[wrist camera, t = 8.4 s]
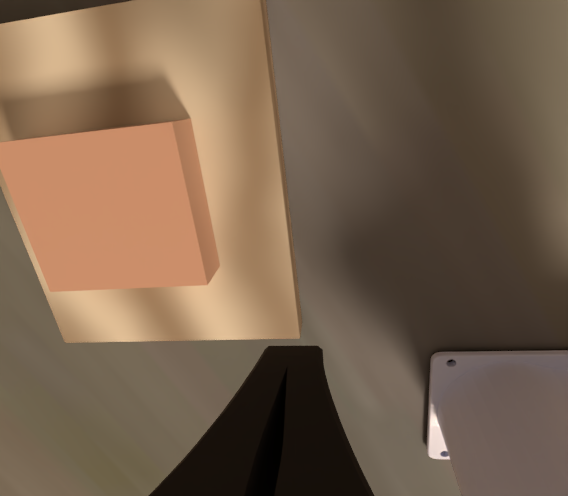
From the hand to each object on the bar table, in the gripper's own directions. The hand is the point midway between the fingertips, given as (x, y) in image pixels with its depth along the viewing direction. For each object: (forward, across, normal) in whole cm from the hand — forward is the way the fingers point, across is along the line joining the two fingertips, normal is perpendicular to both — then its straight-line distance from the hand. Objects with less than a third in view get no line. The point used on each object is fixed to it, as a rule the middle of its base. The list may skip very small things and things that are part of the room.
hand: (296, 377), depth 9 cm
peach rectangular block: (+8, +5, -2) cm, 10 cm away
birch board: (+10, +8, -2) cm, 13 cm away
